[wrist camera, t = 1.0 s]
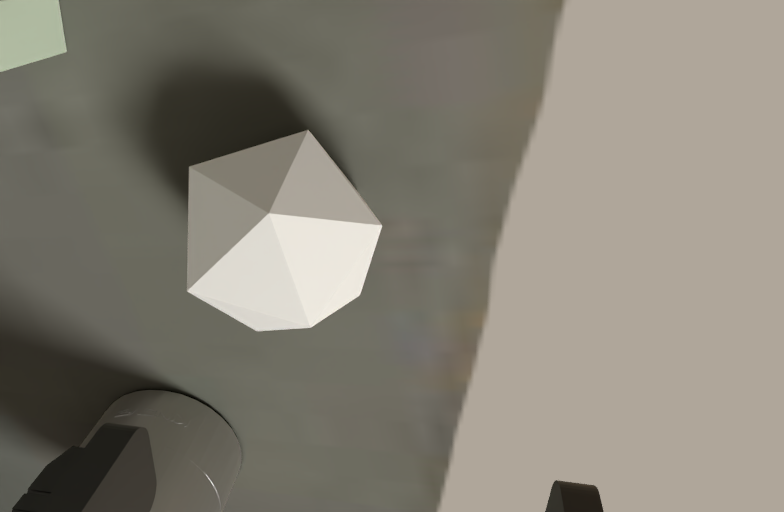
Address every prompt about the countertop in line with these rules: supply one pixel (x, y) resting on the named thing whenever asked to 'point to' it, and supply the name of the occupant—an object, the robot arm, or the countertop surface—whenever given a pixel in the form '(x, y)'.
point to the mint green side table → (29, 32)
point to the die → (277, 234)
